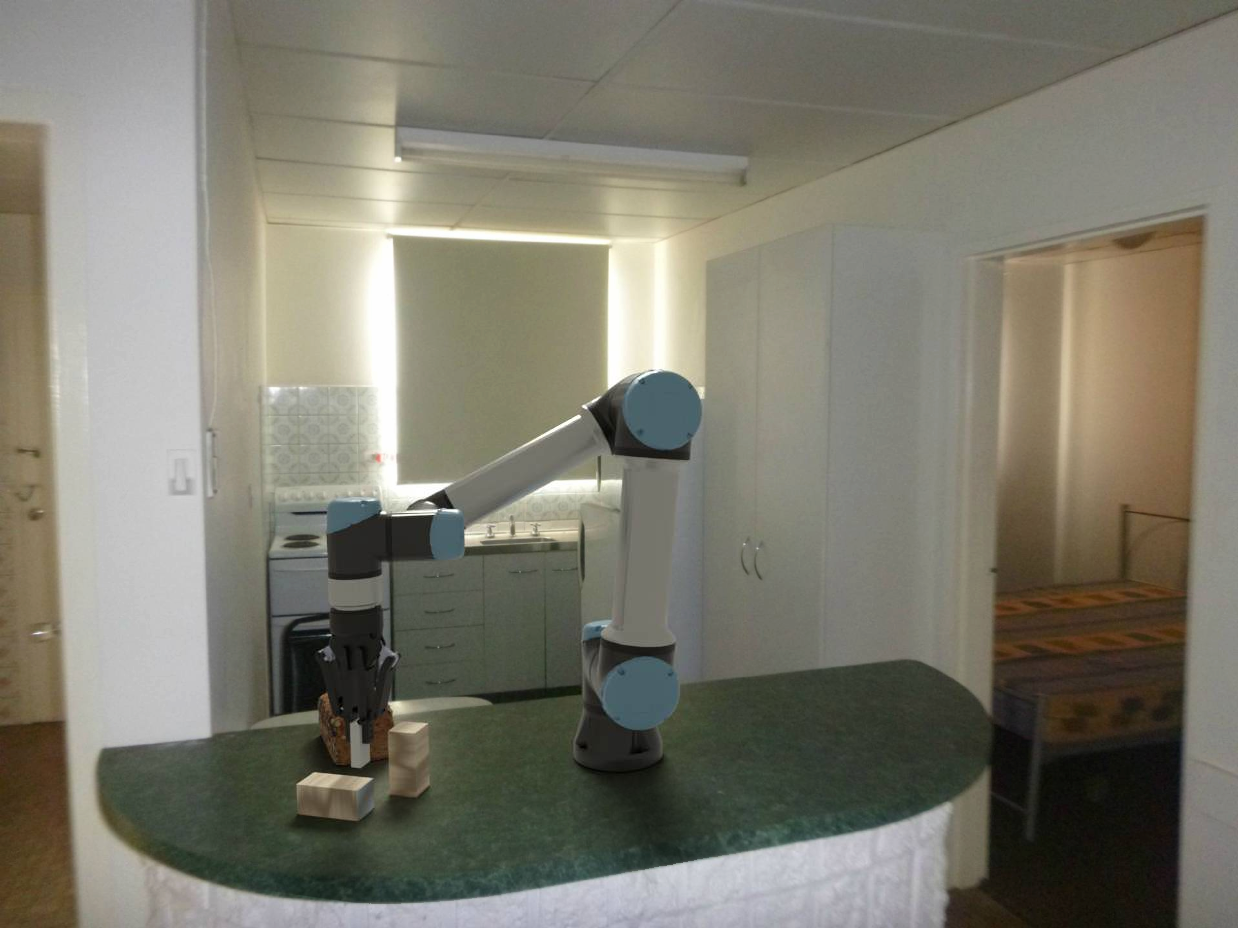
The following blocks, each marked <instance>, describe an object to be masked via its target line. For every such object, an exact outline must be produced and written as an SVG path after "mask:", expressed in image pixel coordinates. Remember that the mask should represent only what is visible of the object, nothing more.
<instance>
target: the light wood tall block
mask: <svg viewBox="0 0 1238 928" xmlns="http://www.w3.org/2000/svg"><path fill="white" fill-rule="evenodd" d="M429 736H430V735H429V723H428V722H427V723H425V722H414V721H401V722H399V723H398V724H396V725H394V727H393V728H392V729H390V730H389V731H388V750H389V757H388V774H389V775H388V779H389V796H397V797H405V798H414V797H415V799H417V798H418V797H419V796H420V795H421V794H422V793H423V792H425V790H426V789H428V788H429V787H430V786H431V780H430V778H431V777H430V748H429V747H430V742H429V740H430V739H429Z"/></svg>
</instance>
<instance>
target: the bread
mask: <svg viewBox="0 0 1238 928" xmlns="http://www.w3.org/2000/svg"><path fill="white" fill-rule="evenodd" d="M375 689H376V687H375ZM317 712H318V724H319V731H320V734H321V735H320V736H321V737H322V740H323V742H324V744H325V747H326V749H327V751H328V754H329V756H330V758H331V760H332V761H333V763H334V764H335V765H336V766H351V743H349V742H347V741H346V730H345V721H344V719H343V718H341V717H339V716H337V717H335V716H334V715H333V714H332V710H331V706H330V702H329V698H328V694H327V692H325V693H324V694H322V695H321V696H320V697H319V698H318V701H317ZM393 714H394V711H393V709H392V708H391V705H390V704H389V703H388V705H387V710H386V713H385V714H384V715H382V716H381V717H379V718H378V719H376V720H374V740H373V741H372V742H370V761H371V762H374V761H382V760H381V759H383V760H386V759H389V750H388V731H389V730H390V729H392V728H393V727H395V722H394V717H393ZM358 718H359V716H358ZM370 761H369V762H368V763H370Z"/></svg>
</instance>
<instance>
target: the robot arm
mask: <svg viewBox="0 0 1238 928" xmlns="http://www.w3.org/2000/svg"><path fill="white" fill-rule="evenodd" d="M702 417H703V406H702V401H701V398H700V395H699V393H698V391H697V389H696V388H695V387H694V385H693V384H692V383H691V382H690V381H689V380H688V379H687V378H686V377H684V376H682V375H681V374H679V373H677V372H674V371H671V370H665V369H661V368H660V369H649V370H645V371H642V372H638V373H633V374H630V375H628V376H625V377H624V378H622V379H621V380H619V382H617V383H615V384H614V385H612V386H611V387H610V388H608V389H607V390H606V391H605V392H603V393H601V394H600V395H599V396H597V397H595V398H594V399H591V401H589V402H587V403H585V404H583V405H581V407H580V408H579V412H578V414H577V415H576V416H574V417H572V418H571V419H568V420H567V421H565V422H563V423H561V424H560V425H557V426H555V427H554V428H552V429H550V430H548V431H547V432H545V433H543V434H541V435H539V436H537V437H535V438H533V439H531V440H530V441H528V442H526V443H524V444H522V445H521V446H519V447H517V448H515V449H513V450H512V451H510V452H507V453H506V454H504V455H503V456H501V457H499V458H497V459H495V460H493V461H491V462H490V463H488V464H486V465H484V466H482V467H480V468H479V469H476V470H475V471H473V472H471V473H469V474H467V475H466V476H463V477H462V478H460V479H459V480H456V481H455V482H453V483H451V484H449V485H447V486H446V487H443V489H441V490H438V491H436V492H434V493H432V494H431V495H429V496H427V497H425V498H420V499H418V500H416V501H414V502H412V503H410V505H408V507H407V508H406V509H405V510H383V509H382V506H381V502H380V499H379V498H377V497H371V496H369V497H367V496H366V497H363V496H355V497H351V496H350V497H342V498H341V497H340V498H336V499H333V500H332V501H330V502H329V504H328V505H327V507H326V531H325V534H326V553H327V555H326V556H327V576H328V577H327V581H328V582H327V587H328V591H327V592H328V593H327V594H328V604H329V605H331V607H330V609H329V610H328V613H329V614H328V617H329V618H328V619H329V620H328V621H329V631H330V632H329V633H331V636H330V638H329V641H328V645H327V646H326V647H324V648H322V649H321V650H318V651H316V652H315V653H314V658H315V660H316V662H317V663H318V665H319V667H320V669H321V674H322V676H323V681H324V684H325V690H326V693H327V694H328V698H329V702H330V706H331V710H332V714H333V715H334V716H335V717H337V716H339V717H341V718H343V719H344V721H345V730H346V741H347V742H349V743H351V765H350V767H351V768H357V769H362V768H363V767H364V766H365V765H367V764H368V763H370V762H369V761H370V742H372V741H373V740H374V720H376V719H378V718H379V717H381V716H382V715H384V714H385V713H386V710H387V705H388V704H389V700H390V694H391V691H392V684H393V680H394V675H395V669H396V666H397V665H398V663H399V661H400V660H401V658H402V655H401V653H400V651H395V652H394V651H392V650H391V649H390V648H388V647H387V643H386V642H387V641H386V640H385V638H384V635H383V632H384V626H385V625H384V605H382V603H381V602H382V600H383V595H384V594H383V568H382V566H383V563H384V564H385V563H388V564H389V563H399V562H401V563H404V562H405V563H406V562H434V561H435V562H439V563H440V562H442V563H443V562H444V561H448V560H449V561H450V560H458V559H461V558H462V557H463V556H465V551H466V549H465V548H466V547H465V546H466V544H465V540H466V539H465V537H466V536H465V535H466V534H465V530H467V529H468V528H470V527H472V526H474V525H476V524H477V523H479V522H481V521H484V520H485V519H487V518H488V517H490V516H492V515H494V514H496V513H497V512H499V511H502V510H503V509H505V508H506V507H508V506H510V505H512V504H514V503H516V502H518V501H520V500H521V499H523V498H525V497H528V496H529V495H530V494H533V493H534V492H536V491H538V490H539V489H541V488H543V487H545V486H547V485H549V484H551V483H553V482H555V481H556V480H558V479H560V478H561V477H563V476H565V475H567V474H568V473H571V472H572V471H574V470H576V469H578V468H579V467H581V466H583V465H585V464H587V463H589V462H591V461H593V460H595V459H596V458H597V457H600V456H603V457H607V458H610V457H612V456H614V458H615V459H616V460H617V461H618V463H619V464H620V465H621V467H622V477H621V478H622V480H621V495H620V507H619V517H618V518H619V521H618V531H617V545H616V546H617V547H616V557H615V558H616V559H615V571H614V572H615V573H614V585H613V586H614V587H613V598H612V599H613V600H612V610H611V611H612V614H611V619H606V620H605V619H604V620H603V619H602V620H596V621H591V622H589V623H586V624H585V625H584V626H583V628H582V636H581V640H580V643H581V645H582V648H581V649H582V698H583V699H582V703H583V704H582V706H583V709H582V714H581V718H580V720H579V725H578V727H577V731H576V734H575V737H574V740H573V758H574V760H575V762H577V764H579V765H582V766H583V767H586V768H588V769H591V770H597V771H601V772H613V773H614V772H631V771H636V770H642V769H645V768H649V767H651V766H653V765H655V764H657V763H658V762H659V761H660V760H661V759H662V757H663V739H662V736H661V734H660V731H659V728H658V726H660V725H661V724H662V723H664V722H665V721H666V720H667V719H668V718H670V717H671V716H672V714H673V713H674V712H675V710H676V708H677V706H678V704H679V700H680V697H681V684H680V680H679V676H678V673H677V672H676V671H675V669H674V667H675V657H676V656H675V653H676V642H677V638H676V636H675V634H673V633H672V631H671V630H670V629H669V627H668V620H669V619H668V618H669V617H668V616H669V605H670V590H671V578H672V567H673V556H674V555H673V554H674V544H675V543H674V542H675V541H674V538H675V528H676V515H677V501H678V490H679V475H680V472H681V470H683V469H684V468H685V467H686V466H687V465H689V463H690V462H691V451H692V439H693V438H694V437H695V435H696V433H697V432H698V430H699V429H700V425H701V422H702ZM379 658H380V660H379V664H380V668H379V670H378V675H377V680H376V684H375V672H376V667H377V666H376V665H377V663H376V662H377V661H378V659H379ZM375 688H376V689H375ZM358 716H359V718H358Z"/></svg>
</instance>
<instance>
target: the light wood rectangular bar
mask: <svg viewBox="0 0 1238 928" xmlns="http://www.w3.org/2000/svg"><path fill="white" fill-rule="evenodd" d="M374 780H375V779H374V778H373V777H365V776H364V777H363V776H356V775H345V774H333V773H327V772H326V773H324V772H312V773H311V774H310V775H308V776H307V777H305V778H304V779H302V780H301V781H300V782H298V783H296V807H297V808H296V809H297V815H303V816H311V817H319V818H329V819H336V820H337V819H338V820H346V821H352V822H353V821H354V822H359V821H361V820H362V819H363V818H364V817H366V816H367V815H368V814H369V813H370V812H371V811H372V810H374V809H375V782H374ZM373 808H374V809H373Z"/></svg>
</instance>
